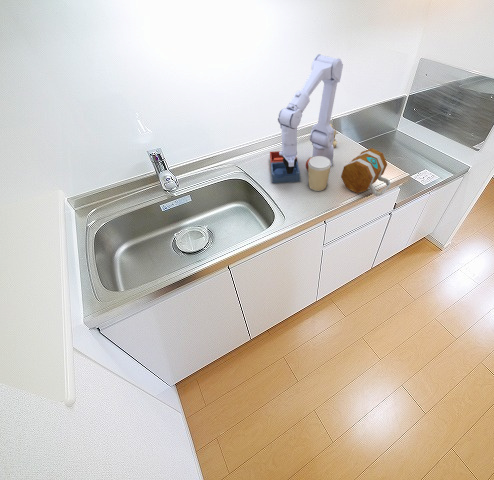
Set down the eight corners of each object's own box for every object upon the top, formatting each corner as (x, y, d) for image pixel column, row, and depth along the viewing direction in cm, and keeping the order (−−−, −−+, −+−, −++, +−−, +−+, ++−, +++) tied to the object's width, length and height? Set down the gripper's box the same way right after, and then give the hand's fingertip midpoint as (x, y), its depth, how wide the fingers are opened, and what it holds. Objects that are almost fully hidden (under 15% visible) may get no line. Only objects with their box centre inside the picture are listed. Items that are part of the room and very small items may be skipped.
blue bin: (271, 171, 128) (270, 162, 124) (297, 169, 128) (297, 161, 125) (272, 183, 122) (272, 174, 118) (299, 181, 122) (300, 172, 119)
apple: (317, 179, 123) (318, 164, 117) (302, 174, 126) (302, 158, 120) (325, 170, 128) (327, 155, 122) (310, 165, 131) (311, 150, 125)
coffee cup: (331, 182, 122) (334, 158, 113) (323, 194, 116) (326, 170, 107) (311, 177, 124) (313, 153, 115) (303, 188, 119) (304, 164, 110)
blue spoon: (295, 171, 118) (295, 165, 116) (296, 177, 115) (296, 171, 113) (274, 172, 117) (273, 167, 115) (274, 178, 114) (274, 173, 112)
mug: (353, 155, 106) (371, 141, 114) (335, 176, 118) (352, 161, 126) (388, 192, 106) (404, 175, 114) (366, 209, 117) (382, 192, 125)
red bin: (270, 160, 134) (269, 151, 131) (295, 158, 135) (295, 150, 131) (271, 170, 128) (270, 162, 125) (297, 169, 129) (297, 160, 125)
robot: (337, 141, 145) (341, 113, 134) (336, 149, 140) (340, 120, 129) (317, 139, 147) (320, 111, 136) (315, 147, 141) (318, 118, 130)
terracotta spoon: (274, 166, 129) (274, 161, 127) (273, 161, 132) (273, 156, 130) (293, 165, 130) (293, 160, 128) (292, 160, 133) (292, 155, 131)
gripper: (277, 133, 109) (278, 162, 120) (280, 152, 100) (281, 182, 110) (295, 132, 110) (294, 161, 120) (299, 151, 100) (298, 181, 110)
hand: (289, 171), depth 115 cm, fingers closed on blue spoon
